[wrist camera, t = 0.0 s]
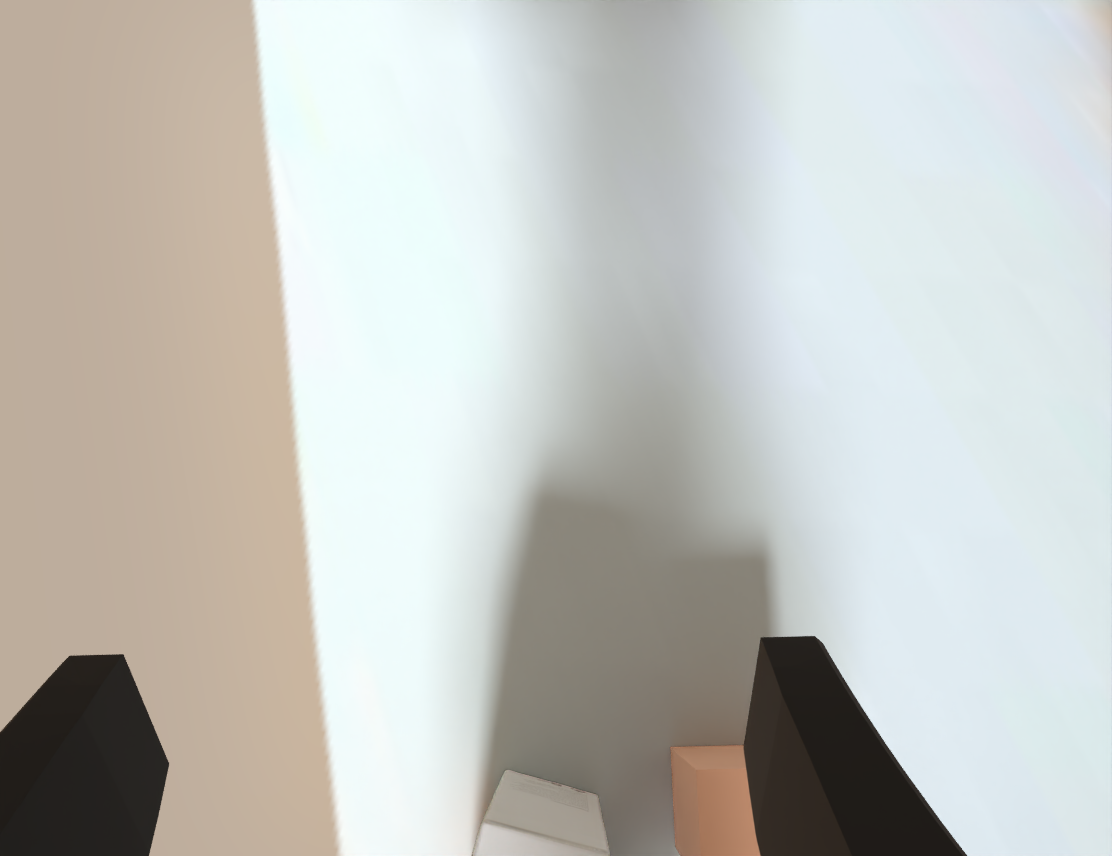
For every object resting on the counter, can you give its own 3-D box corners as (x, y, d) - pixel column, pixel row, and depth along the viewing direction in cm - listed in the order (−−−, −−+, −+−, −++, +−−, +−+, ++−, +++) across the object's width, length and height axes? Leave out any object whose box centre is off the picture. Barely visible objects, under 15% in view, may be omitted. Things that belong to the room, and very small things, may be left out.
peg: (770, 844, 41) (820, 890, 34) (675, 846, 41) (703, 893, 34) (763, 744, 42) (810, 766, 34) (670, 746, 42) (696, 769, 34)
